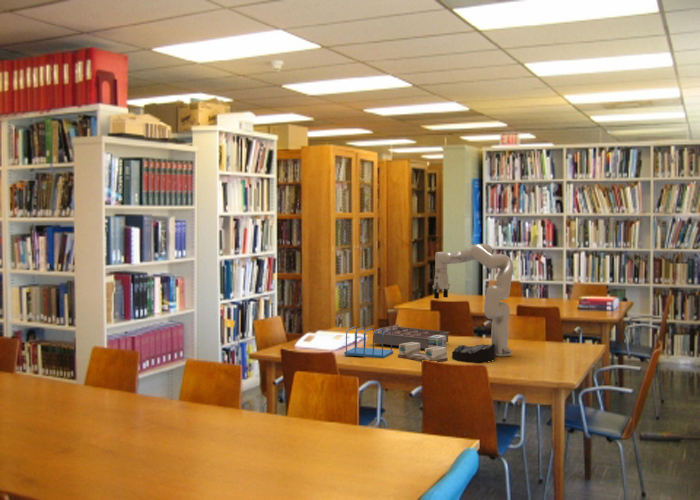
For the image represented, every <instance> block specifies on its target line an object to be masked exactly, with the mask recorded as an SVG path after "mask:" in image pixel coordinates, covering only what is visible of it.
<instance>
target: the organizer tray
mask: <svg viewBox="0 0 700 500" xmlns="http://www.w3.org/2000/svg"><path fill="white" fill-rule="evenodd" d="M379 329H382V330H383V332H385V331H387V330H389V329H391V330H392V346H395V347H396V346H398V347H399V344H403V343H409V342H417V343H420V349H422V350H423V349H424V350H425V349H426V348H428V337H430V336H434V335H443V336H446V344H447V343H449V333H450V331H444V330H434V329H424V328H416V327H415V328H413V327H404V326H399V324H398V323H397V324H394V325H389V326H385V327H381V328H377V329H374V331H376V330H379ZM382 330H379V331H377V332H375V333H374V344H380V345H382ZM383 345H389V346H391V331H387V332H385V333H384V335H383Z"/></svg>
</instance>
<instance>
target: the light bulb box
mask: <svg viewBox="0 0 700 500" xmlns="http://www.w3.org/2000/svg"><path fill="white" fill-rule="evenodd" d="M437 346H440V347H446V348H447V343H446V336H443V335H434V336H430V337H428V348H432V347H437Z"/></svg>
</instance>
